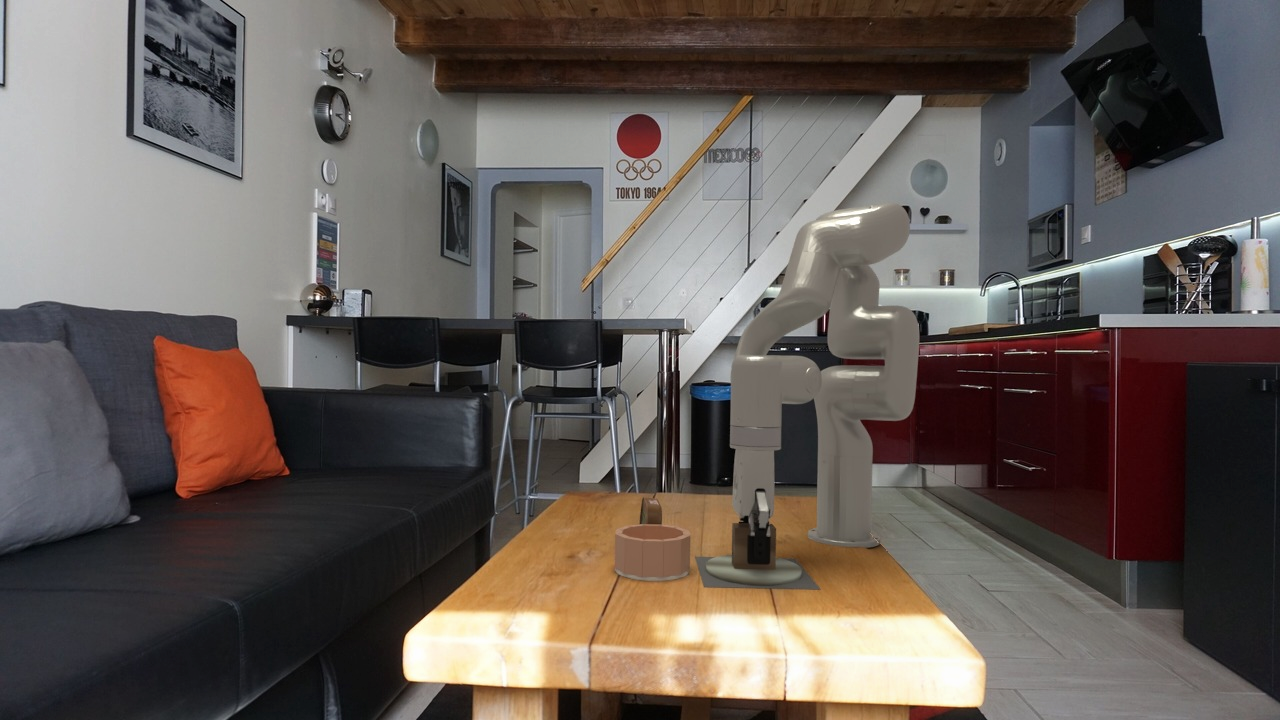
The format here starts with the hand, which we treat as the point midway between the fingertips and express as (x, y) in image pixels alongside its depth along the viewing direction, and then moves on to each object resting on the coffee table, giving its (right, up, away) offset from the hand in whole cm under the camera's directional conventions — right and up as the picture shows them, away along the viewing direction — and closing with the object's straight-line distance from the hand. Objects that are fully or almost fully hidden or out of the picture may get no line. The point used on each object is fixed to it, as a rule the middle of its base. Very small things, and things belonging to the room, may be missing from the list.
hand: (753, 555), depth 105 cm
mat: (0, -3, 0) cm, 3 cm away
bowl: (-15, -3, 0) cm, 15 cm away
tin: (-15, -3, +13) cm, 21 cm away
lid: (0, -2, 0) cm, 2 cm away
